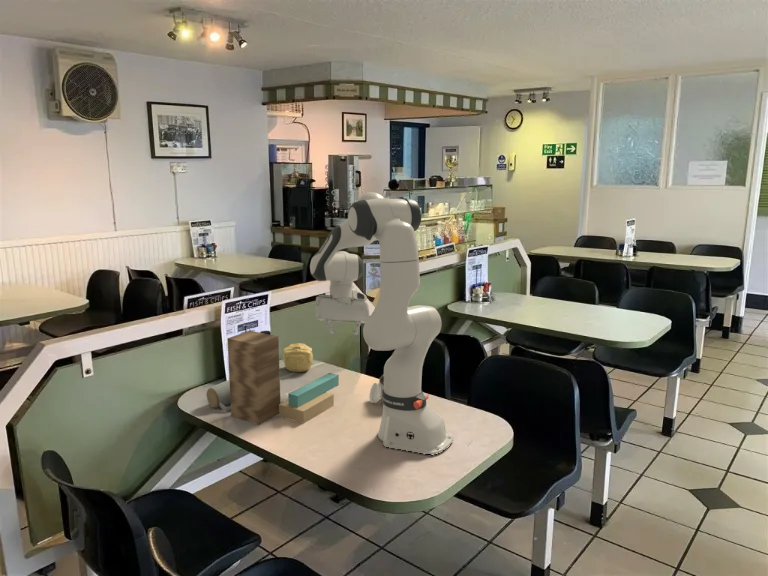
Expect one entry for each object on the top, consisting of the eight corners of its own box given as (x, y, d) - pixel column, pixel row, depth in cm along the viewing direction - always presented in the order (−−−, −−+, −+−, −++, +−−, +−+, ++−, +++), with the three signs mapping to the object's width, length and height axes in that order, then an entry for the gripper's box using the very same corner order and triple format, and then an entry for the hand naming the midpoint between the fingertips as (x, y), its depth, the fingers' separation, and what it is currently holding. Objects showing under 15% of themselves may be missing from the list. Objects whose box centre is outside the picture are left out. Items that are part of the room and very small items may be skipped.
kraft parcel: (333, 405, 196) (333, 394, 195) (303, 423, 182) (303, 411, 181) (309, 399, 201) (309, 388, 200) (279, 416, 187) (278, 404, 186)
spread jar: (412, 403, 198) (412, 370, 196) (387, 412, 191) (387, 378, 188) (388, 392, 207) (388, 361, 204) (363, 401, 200) (363, 369, 197)
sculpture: (282, 375, 223) (281, 348, 221) (285, 364, 235) (284, 338, 233) (312, 374, 224) (311, 347, 222) (313, 364, 236) (313, 338, 233)
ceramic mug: (205, 405, 195) (204, 383, 193) (226, 398, 201) (225, 377, 199) (223, 415, 188) (222, 392, 187) (244, 407, 194) (244, 385, 193)
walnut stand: (280, 413, 190) (278, 336, 184) (259, 424, 181) (256, 344, 176) (253, 405, 196) (250, 330, 190) (231, 416, 187) (227, 338, 182)
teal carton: (338, 385, 203) (338, 374, 202) (297, 407, 184) (297, 396, 183) (329, 383, 205) (329, 372, 204) (288, 404, 186) (288, 393, 185)
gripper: (319, 291, 204) (321, 330, 200) (370, 296, 214) (372, 333, 210) (312, 296, 209) (313, 334, 205) (362, 300, 219) (364, 336, 215)
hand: (344, 333), depth 208 cm, fingers open, 8 cm apart
